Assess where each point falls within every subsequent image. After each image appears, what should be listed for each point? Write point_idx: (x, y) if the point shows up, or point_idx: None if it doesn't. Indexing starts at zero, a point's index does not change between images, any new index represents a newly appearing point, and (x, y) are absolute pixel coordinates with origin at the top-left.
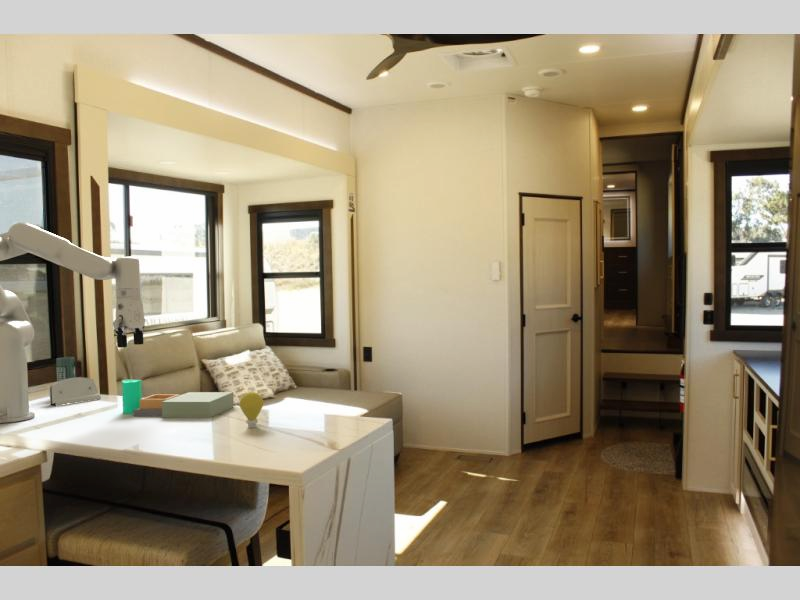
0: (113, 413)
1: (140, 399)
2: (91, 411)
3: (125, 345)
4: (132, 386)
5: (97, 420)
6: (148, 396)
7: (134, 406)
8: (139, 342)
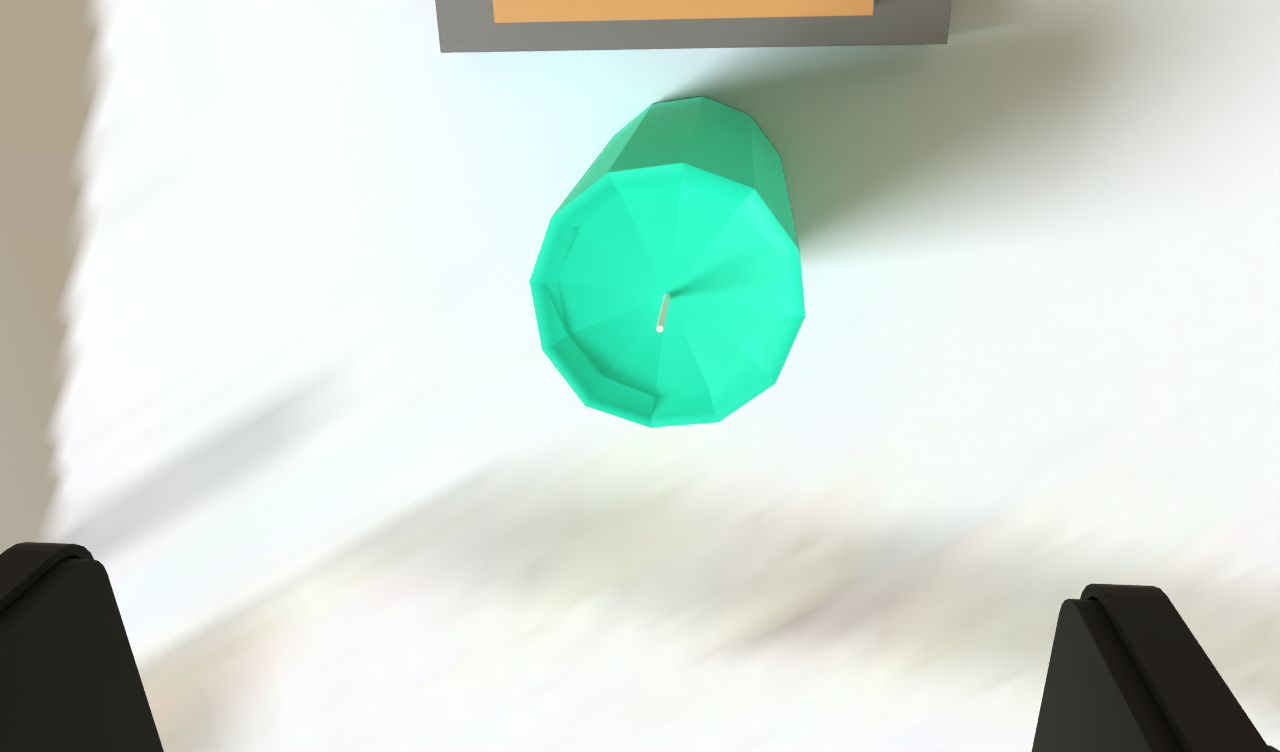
0: None
1: (871, 3)
2: (676, 591)
3: (1171, 641)
4: (776, 207)
5: (1118, 310)
6: (651, 17)
7: (762, 140)
8: (85, 662)
